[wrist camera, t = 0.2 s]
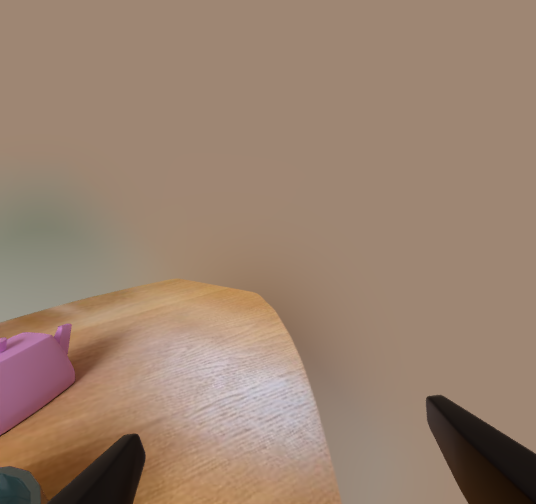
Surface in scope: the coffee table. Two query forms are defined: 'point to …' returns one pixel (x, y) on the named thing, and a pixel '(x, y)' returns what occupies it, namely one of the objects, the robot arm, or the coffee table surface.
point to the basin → (20, 487)
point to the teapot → (32, 373)
